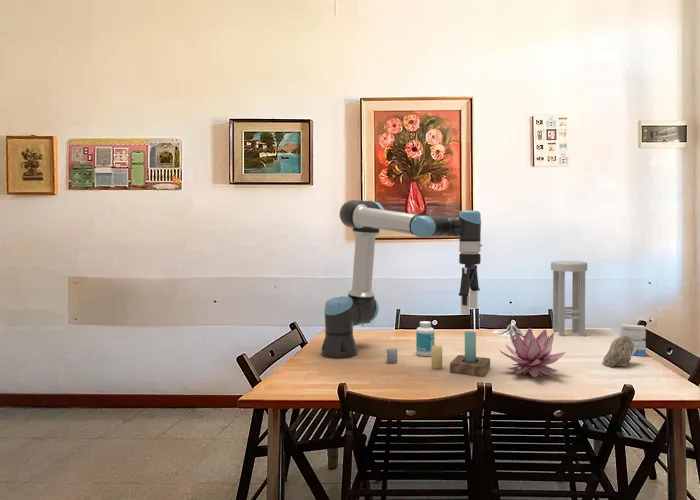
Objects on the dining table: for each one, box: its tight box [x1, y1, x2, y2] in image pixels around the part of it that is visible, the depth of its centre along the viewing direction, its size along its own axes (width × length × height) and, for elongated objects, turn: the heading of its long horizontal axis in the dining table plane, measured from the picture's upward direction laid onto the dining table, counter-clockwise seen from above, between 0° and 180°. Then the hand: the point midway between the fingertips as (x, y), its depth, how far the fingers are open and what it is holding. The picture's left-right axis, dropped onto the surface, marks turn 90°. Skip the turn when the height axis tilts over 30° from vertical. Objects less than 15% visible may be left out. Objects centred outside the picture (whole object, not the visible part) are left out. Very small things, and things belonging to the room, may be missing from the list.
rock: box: [601, 336, 634, 368], centre depth 176 cm, size 14×10×8 cm
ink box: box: [619, 323, 647, 357], centre depth 190 cm, size 8×5×12 cm, turn 65°
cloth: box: [492, 322, 536, 339], centre depth 231 cm, size 22×19×6 cm
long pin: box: [464, 330, 477, 363], centre depth 172 cm, size 4×4×14 cm
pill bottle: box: [415, 320, 435, 357], centre depth 195 cm, size 8×7×14 cm
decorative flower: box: [498, 327, 566, 378], centre depth 167 cm, size 21×21×15 cm
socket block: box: [449, 354, 491, 378], centre depth 173 cm, size 12×12×4 cm
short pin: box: [386, 348, 398, 365], centre depth 184 cm, size 4×4×5 cm
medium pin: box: [430, 344, 443, 370], centre depth 176 cm, size 4×4×8 cm
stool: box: [550, 260, 588, 337], centre depth 228 cm, size 16×16×35 cm
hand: (469, 311), depth 172 cm, fingers open, 13 cm apart
